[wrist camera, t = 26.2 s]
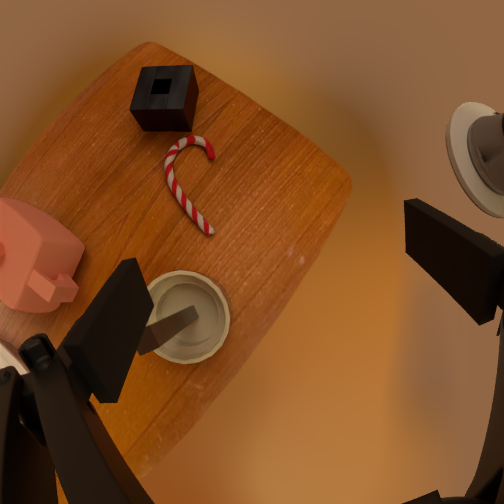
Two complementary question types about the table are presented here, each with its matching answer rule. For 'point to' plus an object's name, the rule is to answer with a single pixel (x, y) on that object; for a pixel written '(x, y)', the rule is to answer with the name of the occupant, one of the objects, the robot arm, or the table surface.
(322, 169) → the table surface
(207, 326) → the mixing bowl
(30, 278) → the teapot
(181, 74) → the stick stand
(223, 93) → the table surface
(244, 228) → the table surface
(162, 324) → the stick
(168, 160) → the candy cane
